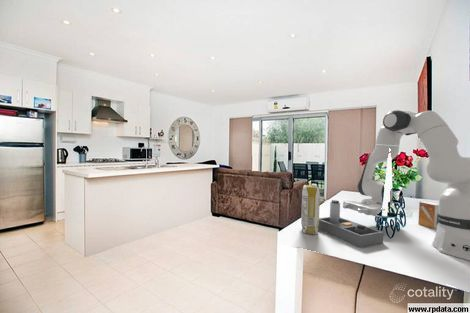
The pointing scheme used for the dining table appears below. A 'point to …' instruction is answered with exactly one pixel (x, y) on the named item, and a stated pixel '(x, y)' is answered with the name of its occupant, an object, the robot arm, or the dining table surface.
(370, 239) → the grey compartment tray
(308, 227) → the juice carton
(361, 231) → the twin plug
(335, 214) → the grey plug
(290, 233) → the dining table surface
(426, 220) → the small box
